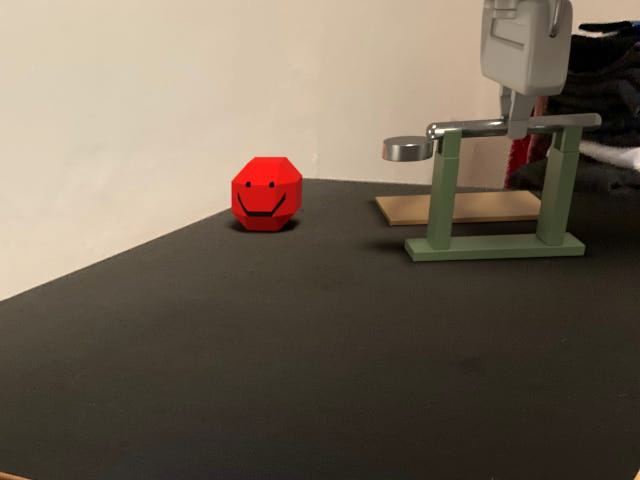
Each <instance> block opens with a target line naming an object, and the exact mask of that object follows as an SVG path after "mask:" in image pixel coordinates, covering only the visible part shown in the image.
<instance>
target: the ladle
mask: <svg viewBox="0 0 640 480" xmlns="http://www.w3.org/2000/svg"><path fill="white" fill-rule="evenodd" d="M507 119H509V118H504V119H500V118H489V119H488V118H487V119H473V120H471V119H470V120H454V121H453V120H452V121H438V122H431V123H430V124H428V125H427V127H426V129H425V135H400V136H393V137H388V138H385V139H384V140H383V141H382V150H381V158H382V160H384V161H388V162H396V163H413V162H422V161H427V160H429V159H432V158H433V156H434V147H435V141H437V140H441V139H443V138H444V130H461V131H462V136H461V139H473V138H490V137H507V136H506V134H505V132H506V124H507ZM574 124H580V125H583V129H582V132H593V131H596V130H598V129H599V128H600V127H601V125H602V116H601V115H600V114H599V113H597V112H592V113H591V112H590V113H575V114H558V115H557V114H556V115H540V116H530V118H529V120H528V127H527V134H526V136H528V135H542V134H546V135H547V134H553V133H563V131H564V126H565V125H574Z"/></svg>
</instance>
